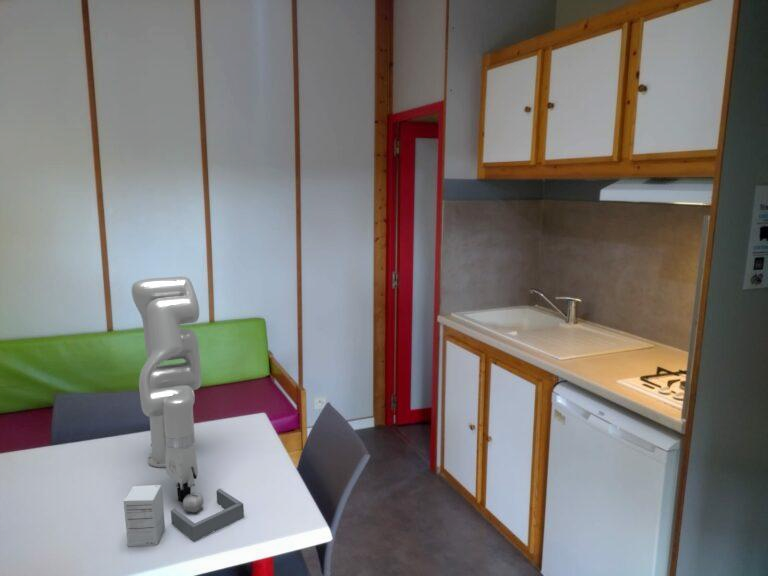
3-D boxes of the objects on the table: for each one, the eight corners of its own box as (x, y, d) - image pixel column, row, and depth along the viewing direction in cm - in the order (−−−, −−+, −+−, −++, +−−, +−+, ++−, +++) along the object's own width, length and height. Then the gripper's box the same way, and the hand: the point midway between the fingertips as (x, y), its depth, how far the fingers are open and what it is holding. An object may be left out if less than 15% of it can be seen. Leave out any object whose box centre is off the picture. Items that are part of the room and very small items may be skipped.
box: (171, 524, 154) (170, 510, 153) (220, 501, 164) (220, 488, 164) (193, 541, 146) (192, 527, 145) (243, 517, 157) (243, 503, 156)
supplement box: (136, 530, 151) (132, 485, 149) (165, 528, 152) (162, 484, 149) (126, 547, 144) (122, 500, 142) (157, 545, 144) (153, 499, 142)
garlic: (208, 510, 160) (207, 492, 159) (190, 518, 156) (188, 500, 155) (197, 502, 164) (195, 485, 163) (179, 509, 160) (177, 492, 159)
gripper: (154, 435, 162) (159, 495, 166) (181, 452, 152) (185, 515, 156) (179, 427, 168) (183, 485, 171) (206, 442, 158) (210, 504, 161)
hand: (184, 499), depth 163 cm, fingers closed
